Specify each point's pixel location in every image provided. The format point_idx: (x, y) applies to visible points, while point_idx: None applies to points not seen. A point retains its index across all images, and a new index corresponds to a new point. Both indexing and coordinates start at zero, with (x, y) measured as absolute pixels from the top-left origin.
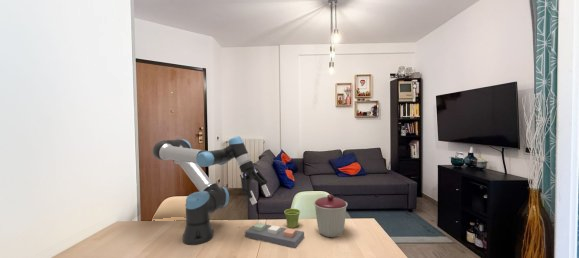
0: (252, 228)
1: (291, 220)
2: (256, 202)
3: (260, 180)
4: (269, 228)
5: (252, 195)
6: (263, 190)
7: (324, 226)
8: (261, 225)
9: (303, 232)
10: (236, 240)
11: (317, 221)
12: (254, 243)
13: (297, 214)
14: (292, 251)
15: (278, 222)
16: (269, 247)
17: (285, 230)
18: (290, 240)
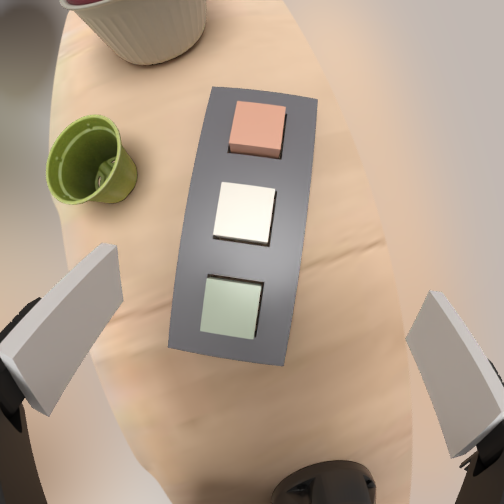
0: (239, 345)
1: (126, 160)
2: (437, 292)
3: (9, 487)
4: (259, 235)
5: (483, 361)
6: (80, 357)
7: (201, 14)
8: (233, 297)
9: (220, 87)
10: (318, 376)
11: (167, 34)
12: (326, 288)
13: (106, 122)
14: (337, 116)
15: None
16: (339, 208)
17: (259, 144)
18: (311, 117)
